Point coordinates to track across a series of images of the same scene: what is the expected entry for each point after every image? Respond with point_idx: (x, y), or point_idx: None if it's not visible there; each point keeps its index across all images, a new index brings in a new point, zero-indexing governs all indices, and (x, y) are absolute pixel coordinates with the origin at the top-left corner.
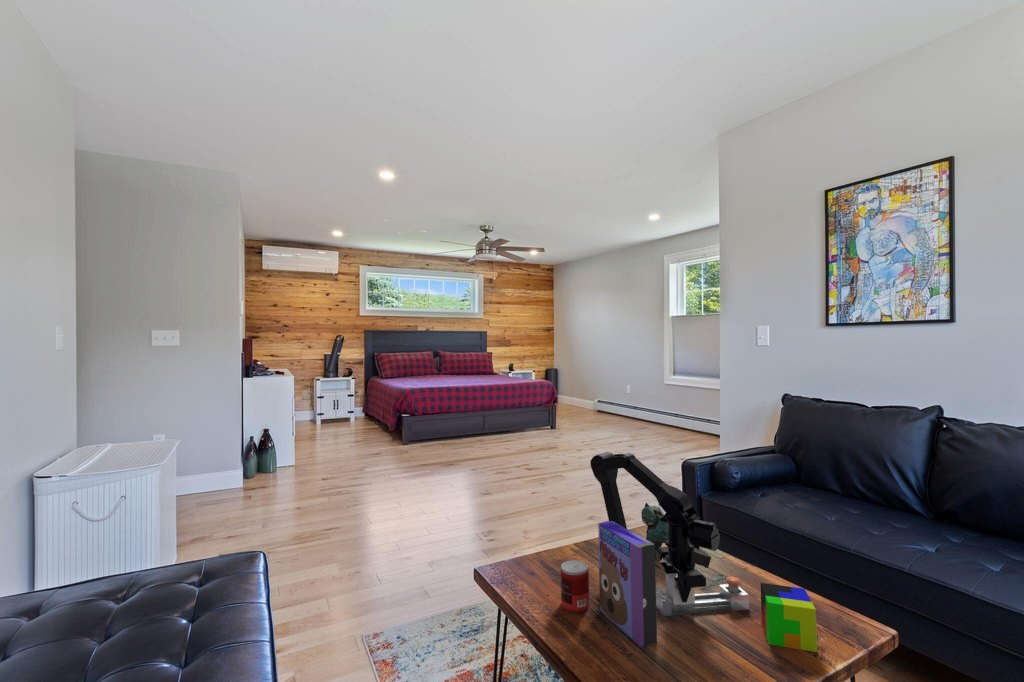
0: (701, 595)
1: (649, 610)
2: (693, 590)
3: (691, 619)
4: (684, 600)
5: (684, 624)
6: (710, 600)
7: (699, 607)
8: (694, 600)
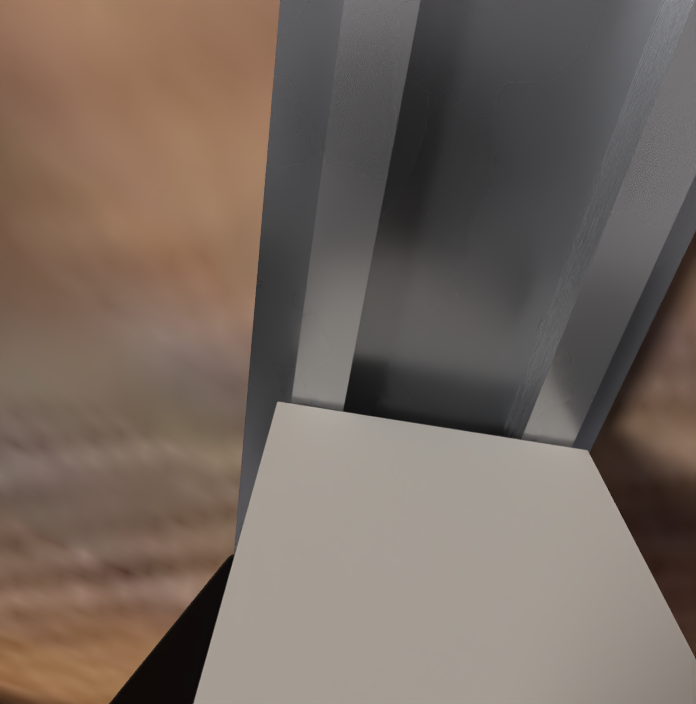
0: (390, 136)
1: None
2: (691, 693)
3: (641, 490)
4: None
5: (668, 588)
6: (669, 85)
7: (626, 371)
8: (602, 488)
